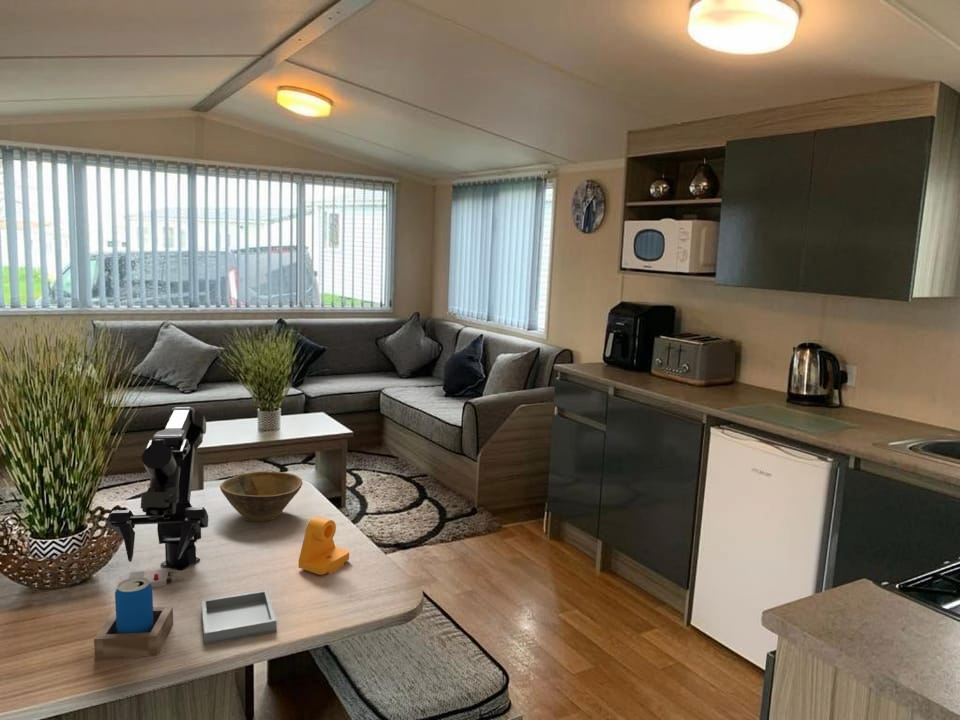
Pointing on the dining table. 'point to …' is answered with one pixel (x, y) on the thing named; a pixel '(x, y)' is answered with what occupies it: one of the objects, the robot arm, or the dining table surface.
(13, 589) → the dining table surface
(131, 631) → the beverage can
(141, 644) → the socket block
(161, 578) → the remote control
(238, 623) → the tray
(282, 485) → the bowl
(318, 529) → the bracket
